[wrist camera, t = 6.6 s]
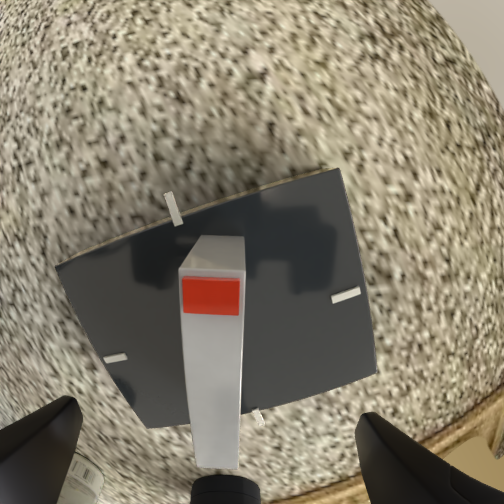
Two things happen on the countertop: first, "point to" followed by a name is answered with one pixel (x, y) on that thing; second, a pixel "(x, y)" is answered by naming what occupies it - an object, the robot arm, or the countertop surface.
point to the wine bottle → (225, 490)
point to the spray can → (81, 482)
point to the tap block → (256, 297)
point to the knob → (214, 346)
